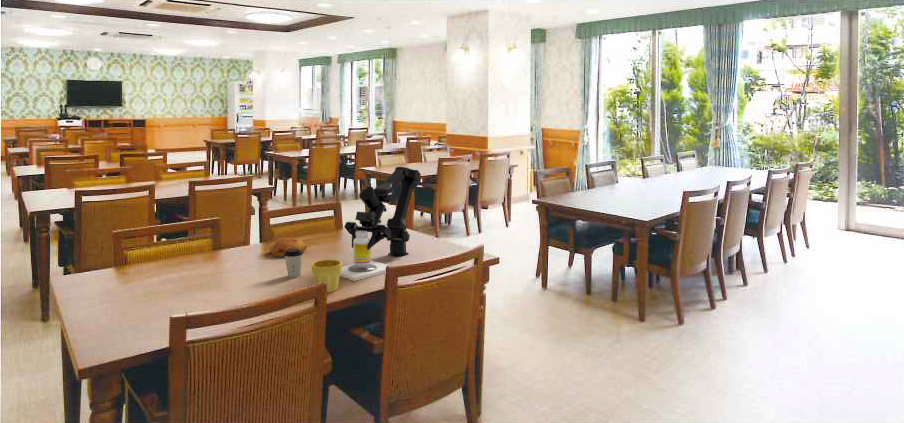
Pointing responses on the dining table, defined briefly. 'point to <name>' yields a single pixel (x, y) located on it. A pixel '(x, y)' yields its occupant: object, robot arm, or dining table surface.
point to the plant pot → (327, 272)
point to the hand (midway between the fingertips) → (360, 248)
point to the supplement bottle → (361, 249)
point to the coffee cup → (293, 262)
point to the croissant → (286, 246)
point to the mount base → (362, 270)
